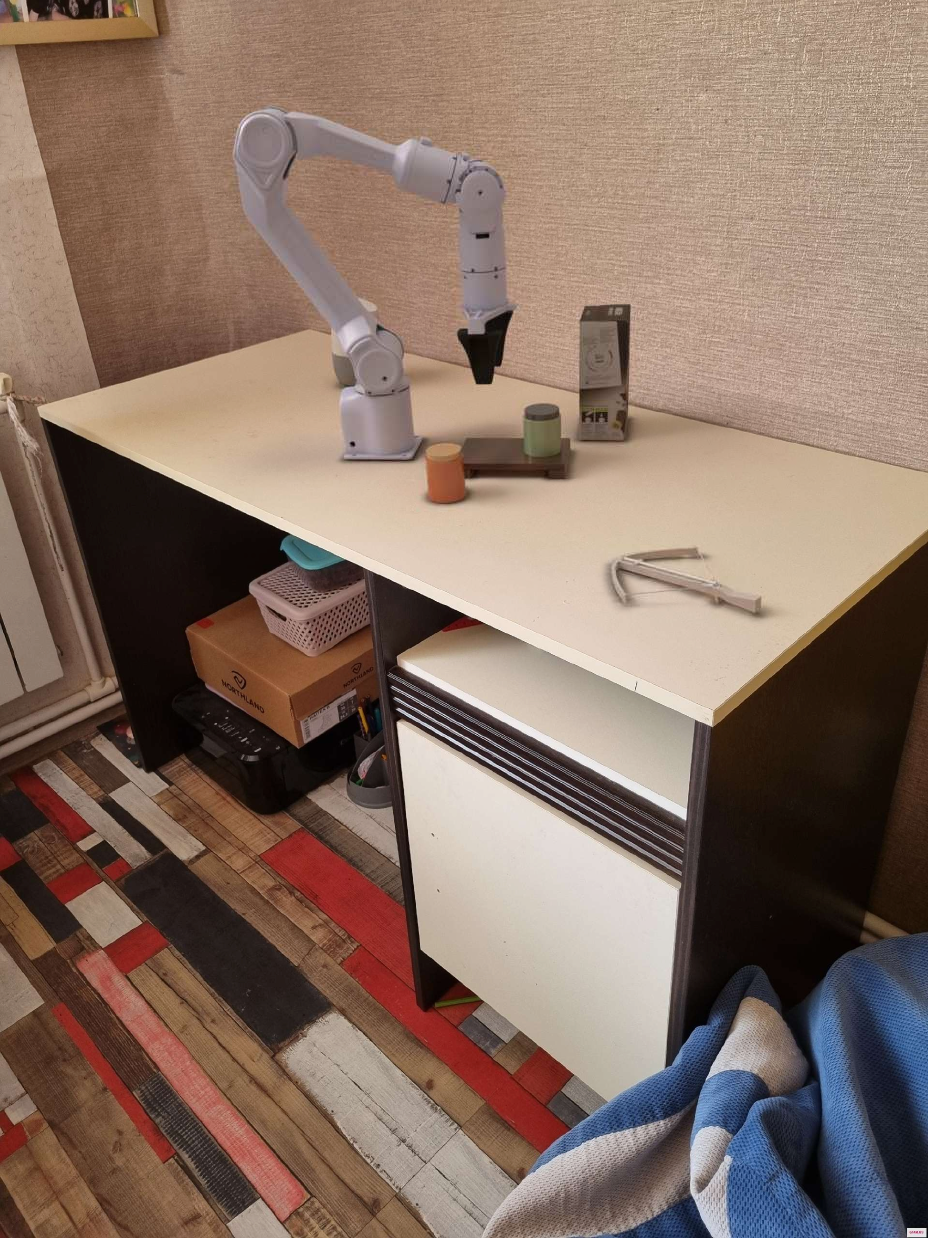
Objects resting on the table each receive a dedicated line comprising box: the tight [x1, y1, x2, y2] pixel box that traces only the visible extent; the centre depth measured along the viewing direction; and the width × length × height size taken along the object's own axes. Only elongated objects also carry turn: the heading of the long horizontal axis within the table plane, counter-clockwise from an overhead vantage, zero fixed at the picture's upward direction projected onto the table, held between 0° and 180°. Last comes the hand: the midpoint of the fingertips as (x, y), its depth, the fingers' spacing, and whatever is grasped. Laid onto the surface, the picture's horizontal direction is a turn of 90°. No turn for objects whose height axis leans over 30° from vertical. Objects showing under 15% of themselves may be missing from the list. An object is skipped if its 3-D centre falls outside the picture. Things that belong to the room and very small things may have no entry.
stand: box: [461, 437, 572, 480], centre depth 123 cm, size 14×9×2 cm, turn 80°
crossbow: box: [610, 545, 762, 614], centre depth 93 cm, size 16×13×2 cm
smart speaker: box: [330, 297, 383, 387], centre depth 154 cm, size 10×9×14 cm
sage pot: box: [522, 402, 562, 457], centre depth 120 cm, size 5×5×6 cm
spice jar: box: [424, 442, 467, 504], centre depth 115 cm, size 5×5×6 cm
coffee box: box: [578, 303, 632, 442], centre depth 128 cm, size 9×6×16 cm
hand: (488, 374), depth 126 cm, fingers open, 7 cm apart
